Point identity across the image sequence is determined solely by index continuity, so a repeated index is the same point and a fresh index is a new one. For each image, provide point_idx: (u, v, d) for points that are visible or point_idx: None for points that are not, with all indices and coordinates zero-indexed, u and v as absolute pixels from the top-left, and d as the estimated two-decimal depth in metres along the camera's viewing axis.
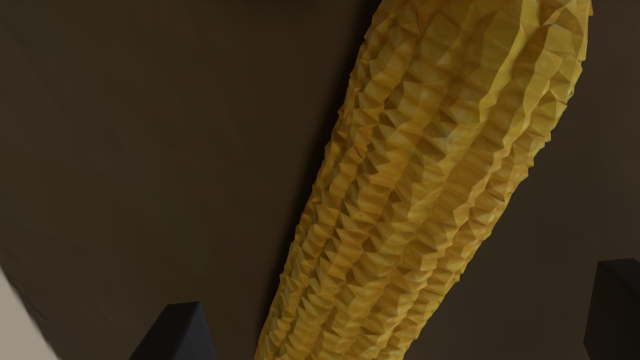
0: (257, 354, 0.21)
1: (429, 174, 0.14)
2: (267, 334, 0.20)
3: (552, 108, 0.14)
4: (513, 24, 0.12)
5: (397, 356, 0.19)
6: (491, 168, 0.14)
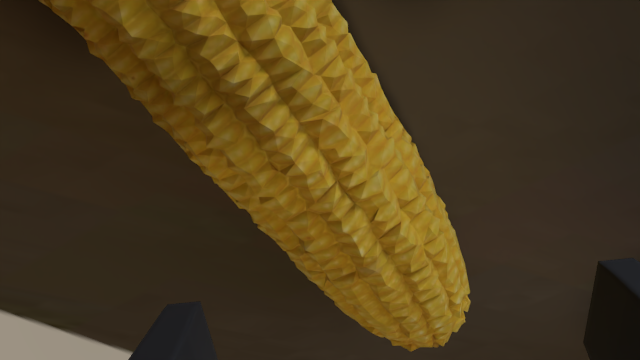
0: None
1: None
2: None
3: None
4: None
5: (378, 165, 0.15)
6: None
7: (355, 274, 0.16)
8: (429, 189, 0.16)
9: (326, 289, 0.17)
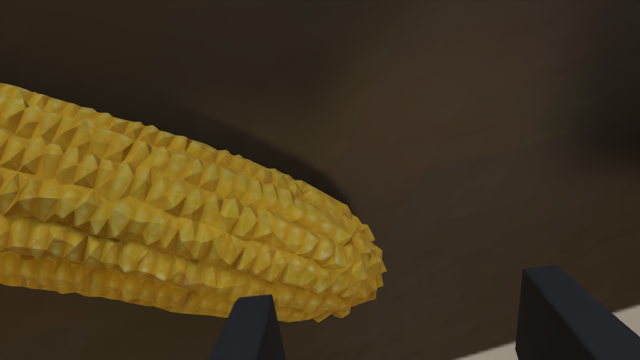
0: None
1: None
2: None
3: None
4: None
5: (116, 197, 0.15)
6: None
7: (191, 292, 0.16)
8: (207, 179, 0.16)
9: (199, 313, 0.17)
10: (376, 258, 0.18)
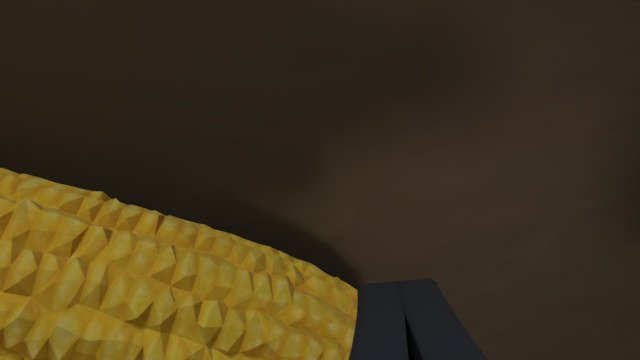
0: None
1: None
2: None
3: None
4: None
5: (61, 307, 0.11)
6: None
7: None
8: (181, 275, 0.12)
9: None
10: None
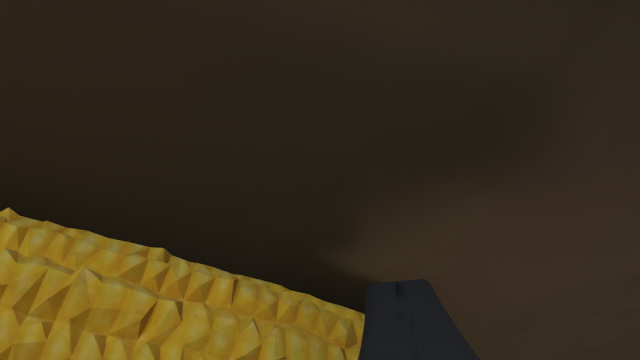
0: None
1: None
2: None
3: None
4: None
5: None
6: None
7: None
8: (269, 359, 0.10)
9: None
10: None
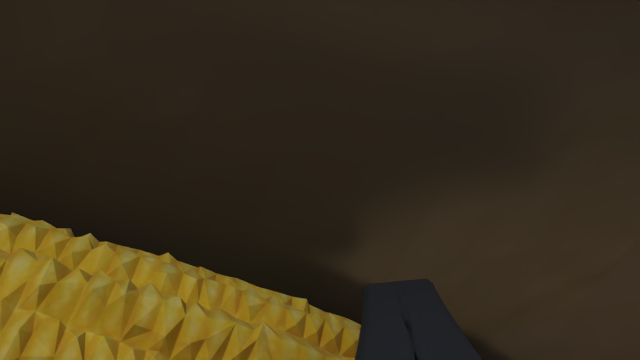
0: None
1: None
2: None
3: None
4: None
5: None
6: None
7: None
8: None
9: None
10: None
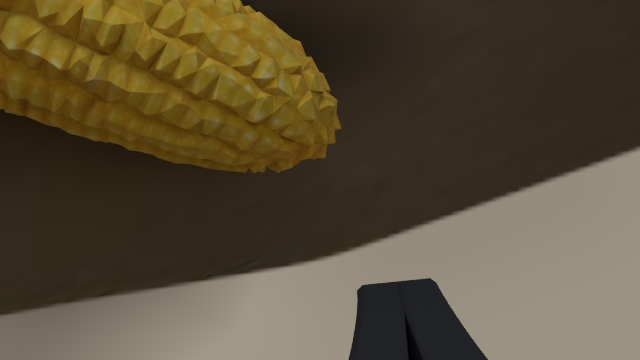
0: None
1: None
2: None
3: None
4: None
5: None
6: None
7: (96, 99, 0.13)
8: None
9: (108, 139, 0.14)
10: (329, 102, 0.15)
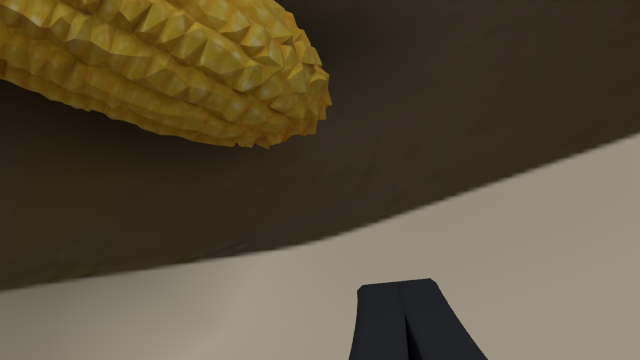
0: None
1: None
2: None
3: None
4: None
5: None
6: None
7: (78, 61, 0.12)
8: None
9: (90, 106, 0.13)
10: (320, 75, 0.15)
